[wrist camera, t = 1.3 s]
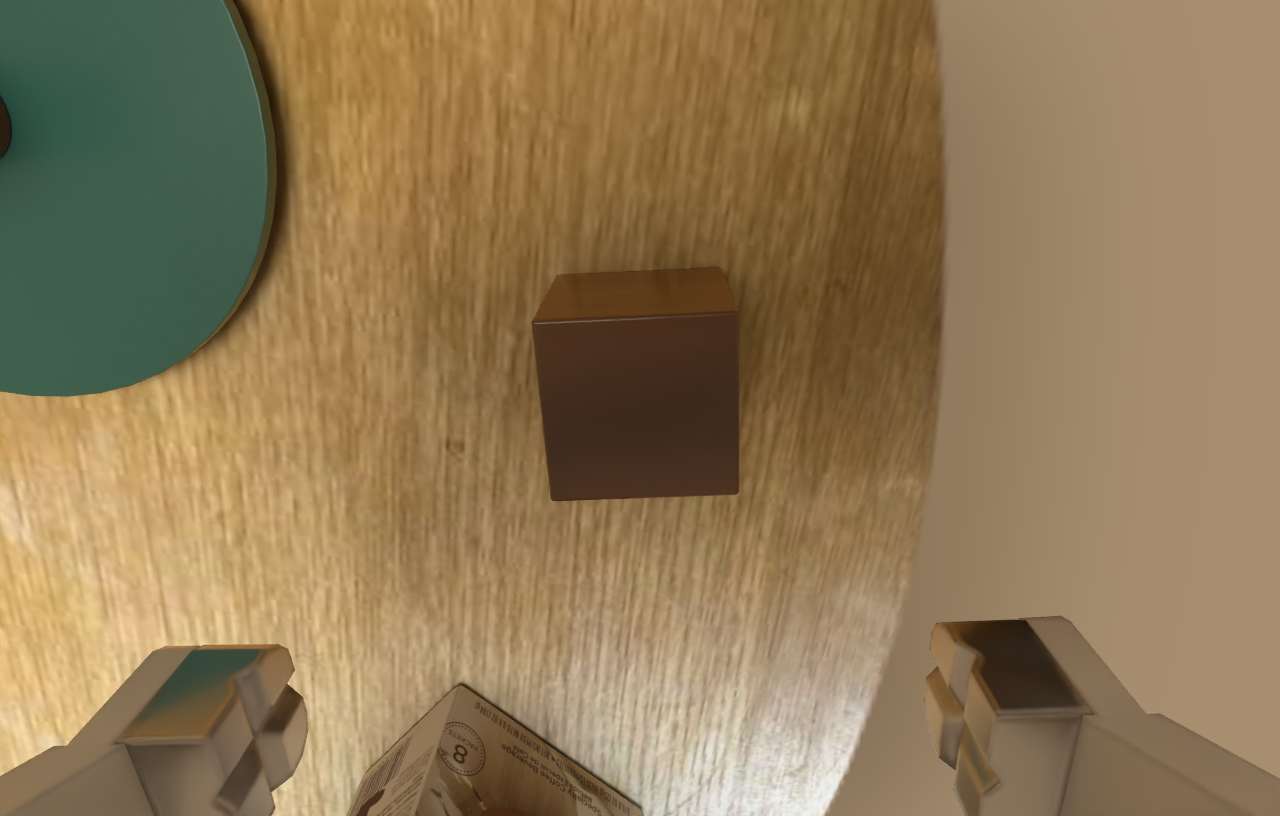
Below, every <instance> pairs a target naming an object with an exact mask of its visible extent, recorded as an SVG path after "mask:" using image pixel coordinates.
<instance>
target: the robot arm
mask: <svg viewBox="0 0 1280 816" xmlns="http://www.w3.org/2000/svg"><path fill="white" fill-rule="evenodd" d="M930 651H931V653H932V655H933V657H934V659H935V661H936V663H937V665H938V666H937V667H936V668H935V669H934V670H933V671H932V672H931V673H930V674H929V675H928V676H927V677H926V684H925V696H924V702H925V711H926V720H927V725H928V729H929V732H930V736H931V739H932V742H933V744H934V747H935V749H936V752H937V754H938V756H939V758H940V759H941V760H943V761H944V762H945V763H947V764H948V765H949V766H950V767H952V768H953V769H954V770H956V773H955V780H954V788H953V790H954V793H955V795H956V797H957V799H958V802H959V804H960V806H961V808H962V811H963V813H964V815H965V816H1280V779H1279V778H1277V777H1275V776H1274V775H1272V774H1270V773H1268V772H1266V771H1265V770H1263V769H1261V768H1259V767H1257V766H1255V765H1253V764H1252V763H1250V762H1248V761H1246V760H1244V759H1242V758H1241V757H1239V756H1237V755H1235V754H1233V753H1231V752H1230V751H1228V750H1226V749H1224V748H1222V747H1220V746H1218V745H1217V744H1215V743H1213V742H1211V741H1209V740H1208V739H1206V738H1204V737H1202V736H1200V735H1198V734H1197V733H1195V732H1193V731H1191V730H1189V729H1187V728H1186V727H1184V726H1182V725H1180V724H1178V723H1176V722H1175V721H1173V720H1171V719H1169V718H1167V717H1165V716H1164V715H1162V714H1146V713H1145V711H1144V710H1143V709H1142V708H1141V707H1140V706H1139V704H1138V703H1137V702H1136V700H1135V699H1134V698H1133V697H1132V696H1131V694H1130V693H1129V692H1128V691H1127V690H1126V688H1125V687H1124V686H1123V685H1122V683H1121V682H1120V681H1119V680H1118V679H1117V677H1116V676H1115V675H1114V674H1113V672H1112V671H1111V670H1110V669H1109V668H1108V666H1107V665H1106V664H1105V663H1104V661H1103V660H1102V659H1101V658H1100V657H1099V655H1098V654H1097V653H1096V652H1095V650H1094V649H1093V648H1092V647H1091V646H1090V644H1089V643H1088V642H1087V641H1086V639H1085V638H1084V637H1083V636H1082V635H1081V633H1080V632H1079V631H1078V630H1077V629H1076V627H1075V626H1074V625H1073V624H1072V622H1071V621H1069V620H1067V619H1065V618H1064V617H1062V616H1051V617H1032V618H1019V619H1018V620H994V621H993V620H991V621H967V622H942V623H936V624H935V626H934V629H933V631H932V633H931V641H930ZM294 671H295V668H294V665H293V662H292V659H291V656H290V653H289V650H288V649H287V648H285V647H283V646H281V645H279V644H263V645H203V646H165V647H163V648H160V649H158V650H155V651H153V652H152V653H151V654H150V655H149V656H148V657H147V658H146V659H145V660H144V661H143V663H142V664H141V665H140V666H139V667H138V668H137V669H136V670H135V671H134V672H133V674H132V675H131V676H130V677H129V678H128V679H127V680H126V681H125V682H124V683H123V685H122V686H121V687H120V688H119V689H118V690H117V691H116V692H115V693H114V694H113V695H112V697H111V698H110V699H109V700H108V701H107V702H106V703H105V704H104V705H103V706H102V708H101V709H100V710H99V711H98V712H97V713H96V714H95V715H94V716H93V717H92V718H91V720H90V721H89V722H88V723H87V724H86V725H85V726H84V727H83V728H82V729H81V731H80V732H79V733H78V734H77V735H76V736H75V737H74V738H73V739H72V740H71V741H70V743H69V744H68V745H67V746H53V747H51V748H50V749H48V750H46V751H44V752H42V753H41V754H39V755H37V756H35V757H34V758H32V759H30V760H28V761H27V762H25V763H23V764H21V765H19V766H18V767H16V768H14V769H12V770H11V771H9V772H7V773H5V774H3V775H2V776H0V816H271V815H272V813H273V811H274V810H275V804H274V800H273V797H272V793H271V792H272V791H274V790H275V789H276V788H277V787H279V786H280V785H281V784H283V783H284V782H285V781H286V780H288V779H289V778H290V777H292V776H293V774H294V772H295V770H296V768H297V766H298V764H299V762H300V760H301V758H302V755H303V751H304V746H305V742H306V738H307V733H308V722H307V710H306V707H305V703H304V699H303V697H302V696H301V695H300V694H298V693H297V692H296V691H295V690H294V689H293V688H291V687H290V686H289V685H288V684H287V683H288V681H289V679H290V678H291V676H292V674H293V672H294Z"/></svg>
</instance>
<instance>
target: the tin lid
mask: <svg viewBox="0 0 1280 816" xmlns="http://www.w3.org/2000/svg"><path fill="white" fill-rule="evenodd" d="M276 185H277V168H276V144H275V135H274V129H273V123H272V116H271V110H270V104H269V98H268V95H267V91H266V88H265V84H264V81H263V77H262V74H261V70H260V67H259V63H258V60H257V56H256V53H255V51H254V48H253V46H252V43H251V41H250V38H249V36H248V34H247V31H246V29H245V26H244V24H243V21H242V19H241V16H240V14H239V11H238V9H237V8H236V6H235V4H234V2H233V0H0V391H1V392H8V393H16V394H23V395H30V396H66V397H68V396H77V395H87V394H96V393H102V392H107V391H111V390H115V389H119V388H123V387H127V386H131V385H133V384H136V383H138V382H141V381H143V380H145V379H148V378H150V377H153V376H155V375H158V374H160V373H162V372H163V371H165V370H167V369H169V368H170V367H172V366H174V365H175V364H177V363H179V362H180V361H182V360H183V359H185V358H187V357H188V356H190V355H192V354H193V353H195V352H196V351H197V350H198V349H199V348H201V347H202V346H203V345H204V344H205V343H206V342H208V341H209V340H210V339H211V338H212V337H213V336H215V335H216V334H217V333H218V332H219V331H220V329H221V328H222V327H223V326H224V325H225V323H226V322H227V321H228V320H229V319H230V317H231V316H232V315H233V314H234V313H235V311H236V310H237V309H238V307H239V305H240V304H241V302H242V300H243V299H244V297H245V295H246V294H247V292H248V290H249V289H250V287H251V285H252V284H253V282H254V279H255V277H256V274H257V272H258V269H259V267H260V264H261V262H262V259H263V257H264V254H265V252H266V247H267V243H268V239H269V235H270V230H271V226H272V222H273V217H274V207H275V196H276Z"/></svg>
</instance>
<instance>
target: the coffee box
mask: <svg viewBox="0 0 1280 816" xmlns="http://www.w3.org/2000/svg"><path fill="white" fill-rule="evenodd" d="M346 816H644V815H643V813H642V811H641V810H640V809H639V808H638V807H636V806H635V805H633V804H632V803H630V802H629V801H628V800H626V799H625V798H623V797H622V796H620V795H619V794H618V793H616V792H615V791H613V790H612V789H610V788H609V787H608V786H606V785H605V784H603V783H602V782H600V781H599V780H598V779H596V778H595V777H593V776H592V775H590V774H589V773H588V772H586V771H585V770H583V769H582V768H580V767H579V766H578V765H576V764H575V763H573V762H572V761H570V760H569V759H567V758H566V757H565V756H563V755H562V754H560V753H559V752H557V751H556V750H555V749H553V748H552V747H550V746H549V745H547V744H546V743H544V742H543V741H541V740H540V739H539V738H537V737H536V736H534V735H533V734H532V733H530V732H529V731H527V730H526V729H525V728H523V727H522V726H520V725H519V724H517V723H516V722H514V721H513V720H512V719H510V718H509V717H507V716H506V715H505V714H503V713H502V712H500V711H499V710H497V709H496V708H495V707H493V706H492V705H490V704H489V703H487V702H486V701H484V700H483V699H481V698H480V697H479V696H477V695H476V694H474V693H473V692H471V691H470V690H468V689H467V688H465V687H463V686H457V687H456V688H454V689H453V690H452V691H451V692H449V693H448V694H447V695H446V696H445V697H444V698H443V699H442V700H441V701H440V702H439V703H438V704H437V705H436V706H435V707H434V708H433V709H432V710H431V711H430V712H429V713H428V714H427V715H426V716H425V717H424V718H423V719H422V720H421V721H420V722H418V723H417V724H416V725H415V726H414V727H413V728H412V729H411V730H410V731H409V732H408V733H407V734H406V735H405V736H404V737H403V738H402V739H401V740H400V741H398V742H397V743H396V744H395V745H394V746H393V747H392V748H391V749H390V750H389V751H388V752H387V753H386V754H385V755H384V756H383V757H382V758H381V759H380V760H379V761H378V762H377V763H376V764H375V765H374V766H373V767H372V768H371V769H370V770H369V771H368V772H367V773H366V774H365V775H364V776H363V778H362V780H361V782H360V785H359V787H358V789H357V792H356V794H355V797H354V799H353V801H352V804H351V806H350V808H349V811H348V813H347V815H346Z"/></svg>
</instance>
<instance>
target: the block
mask: <svg viewBox="0 0 1280 816" xmlns="http://www.w3.org/2000/svg"><path fill="white" fill-rule="evenodd" d="M531 324H532V333H533V342H534V351H535V360H536V369H537V378H538V387H539V396H540V406H541V415H542V424H543V433H544V442H545V451H546V460H547V469H548V478H549V487H550V496H551V499H552V501H573V500H601V499H629V498H657V497H685V496H713V495H736V494H738V492H739V312H738V310H737V307H736V305H735V302H734V299H733V297H732V294H731V292H730V289H729V286H728V284H727V281H726V279H725V276H724V273H723V271H722V268H719V267H717V268H696V269H674V270H653V271H631V272H610V273H588V274H567V275H557V276H556V277H555V279H554V281H553V283H552V285H551V287H550V289H549V291H548V292H547V294H546V296H545V298H544V300H543V302H542V304H541V306H540V307H539V309H538V311H537V313H536V315H535V317H534V319H533V320H532V323H531Z"/></svg>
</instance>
